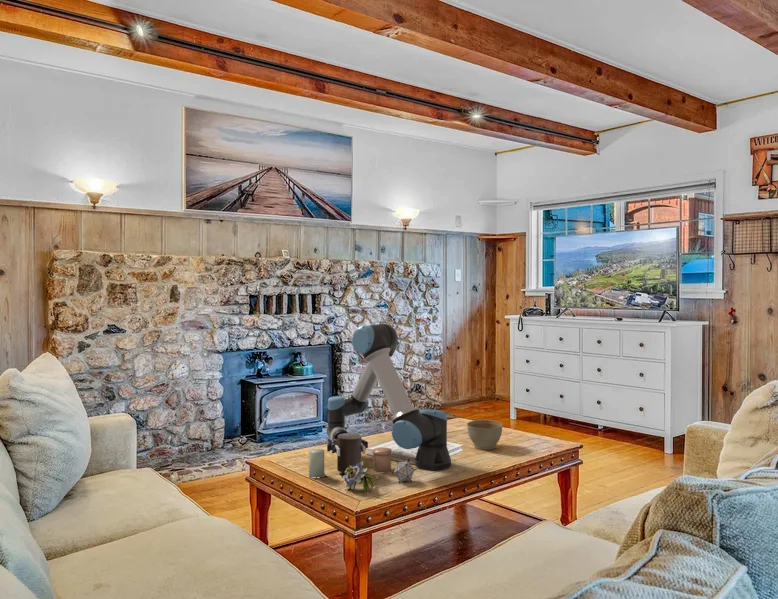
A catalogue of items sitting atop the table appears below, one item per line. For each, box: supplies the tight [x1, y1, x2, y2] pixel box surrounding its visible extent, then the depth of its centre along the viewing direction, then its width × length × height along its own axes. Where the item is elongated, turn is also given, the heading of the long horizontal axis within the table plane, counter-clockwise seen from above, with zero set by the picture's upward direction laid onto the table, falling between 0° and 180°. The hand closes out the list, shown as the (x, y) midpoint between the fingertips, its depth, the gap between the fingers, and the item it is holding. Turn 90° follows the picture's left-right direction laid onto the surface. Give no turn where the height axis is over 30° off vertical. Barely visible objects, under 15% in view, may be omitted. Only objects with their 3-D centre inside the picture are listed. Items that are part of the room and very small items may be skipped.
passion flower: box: [342, 460, 379, 493], centre depth 224 cm, size 11×11×12 cm
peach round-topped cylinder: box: [372, 447, 393, 473], centre depth 245 cm, size 8×8×8 cm
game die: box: [391, 459, 417, 484], centre depth 231 cm, size 9×8×10 cm
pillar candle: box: [336, 432, 362, 474], centre depth 242 cm, size 10×10×15 cm
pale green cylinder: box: [308, 448, 326, 478], centre depth 238 cm, size 6×6×10 cm
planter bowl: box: [466, 419, 503, 451], centre depth 277 cm, size 16×16×11 cm
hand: (351, 451), depth 237 cm, fingers closed on pillar candle, 9 cm apart
